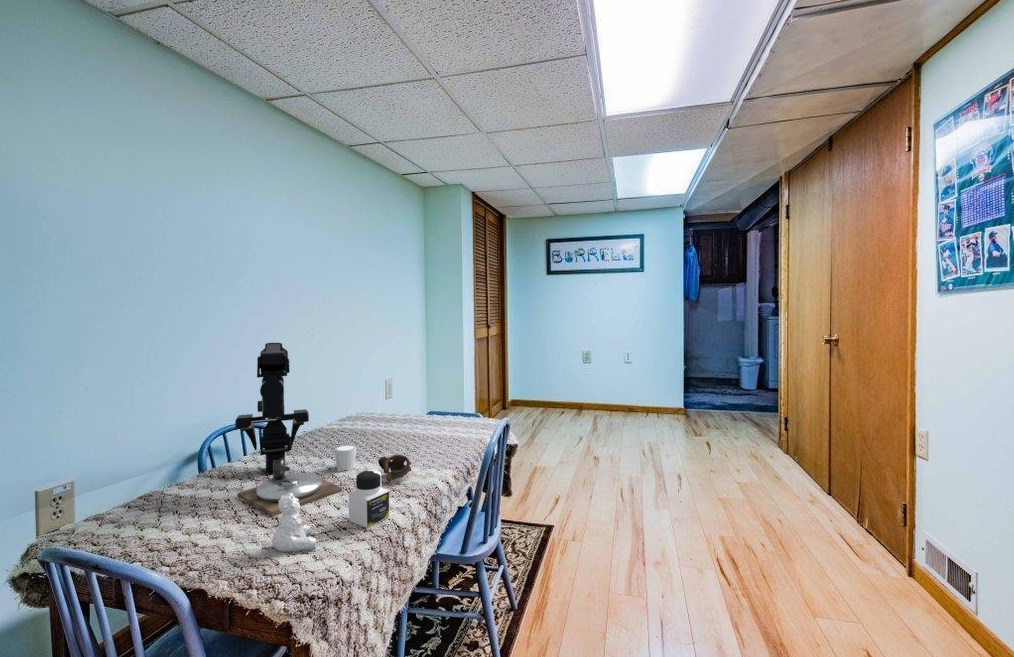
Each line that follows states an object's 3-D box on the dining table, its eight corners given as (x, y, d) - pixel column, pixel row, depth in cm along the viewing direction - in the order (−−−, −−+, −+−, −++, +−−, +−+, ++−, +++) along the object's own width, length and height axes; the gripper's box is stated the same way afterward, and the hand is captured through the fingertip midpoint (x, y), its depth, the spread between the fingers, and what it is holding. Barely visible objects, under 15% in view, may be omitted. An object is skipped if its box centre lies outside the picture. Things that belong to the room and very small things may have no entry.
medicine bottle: (367, 528, 106) (367, 479, 106) (348, 521, 110) (347, 474, 110) (389, 517, 112) (389, 471, 112) (370, 510, 116) (370, 465, 116)
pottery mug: (417, 474, 144) (417, 456, 140) (401, 496, 136) (401, 479, 132) (386, 461, 147) (384, 444, 143) (368, 482, 139) (367, 465, 135)
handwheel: (273, 507, 114) (273, 481, 114) (246, 491, 125) (245, 466, 124) (333, 487, 128) (333, 463, 127) (304, 473, 138) (304, 451, 138)
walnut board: (237, 497, 124) (237, 493, 124) (305, 476, 140) (305, 472, 140) (272, 516, 112) (272, 512, 112) (341, 491, 128) (341, 487, 128)
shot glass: (342, 473, 143) (342, 452, 142) (330, 468, 147) (330, 448, 147) (360, 467, 148) (360, 447, 148) (349, 463, 152) (348, 443, 152)
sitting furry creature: (318, 549, 97) (318, 495, 97) (275, 561, 92) (274, 505, 92) (309, 531, 105) (309, 482, 104) (268, 542, 100) (268, 490, 99)
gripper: (306, 388, 140) (307, 436, 140) (238, 393, 131) (239, 444, 132) (308, 394, 130) (309, 446, 130) (234, 399, 121) (235, 455, 122)
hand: (273, 447), depth 129 cm, fingers open, 9 cm apart
